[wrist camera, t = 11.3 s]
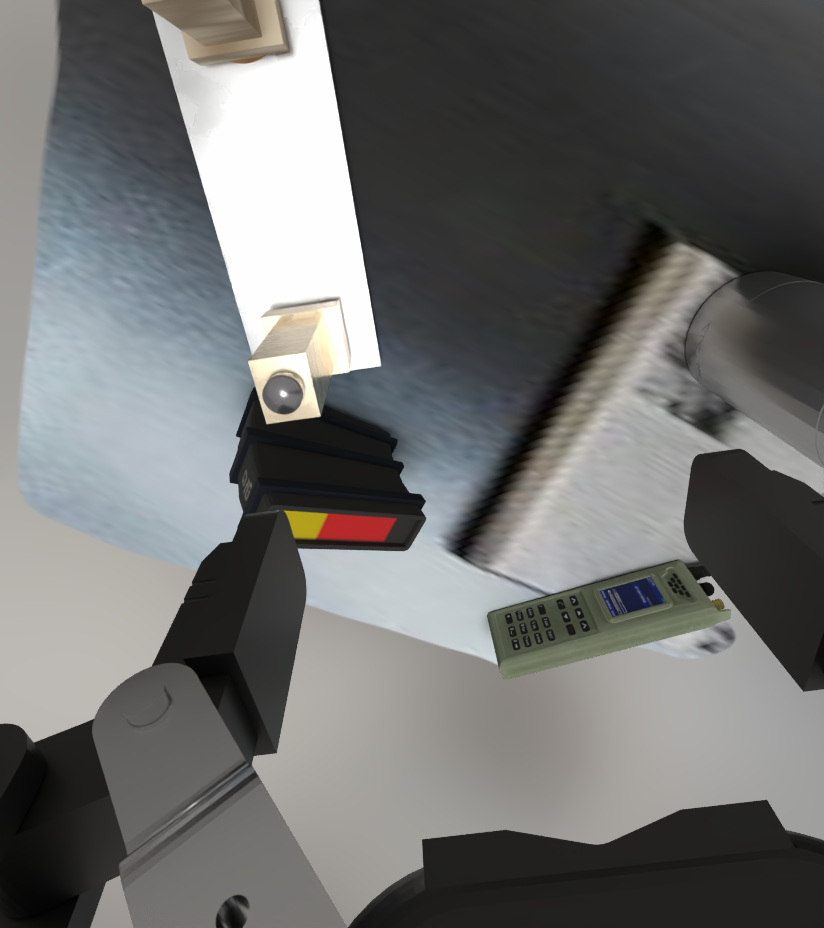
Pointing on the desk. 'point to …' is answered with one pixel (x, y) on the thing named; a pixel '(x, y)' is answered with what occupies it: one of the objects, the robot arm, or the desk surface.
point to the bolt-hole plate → (282, 209)
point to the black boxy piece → (326, 480)
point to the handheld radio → (603, 618)
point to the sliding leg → (225, 27)
